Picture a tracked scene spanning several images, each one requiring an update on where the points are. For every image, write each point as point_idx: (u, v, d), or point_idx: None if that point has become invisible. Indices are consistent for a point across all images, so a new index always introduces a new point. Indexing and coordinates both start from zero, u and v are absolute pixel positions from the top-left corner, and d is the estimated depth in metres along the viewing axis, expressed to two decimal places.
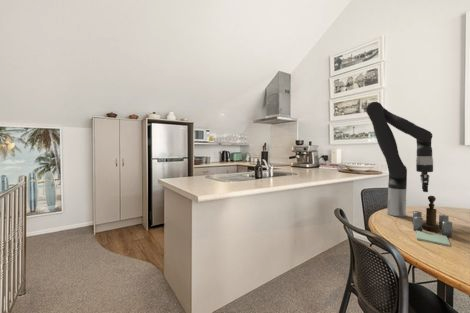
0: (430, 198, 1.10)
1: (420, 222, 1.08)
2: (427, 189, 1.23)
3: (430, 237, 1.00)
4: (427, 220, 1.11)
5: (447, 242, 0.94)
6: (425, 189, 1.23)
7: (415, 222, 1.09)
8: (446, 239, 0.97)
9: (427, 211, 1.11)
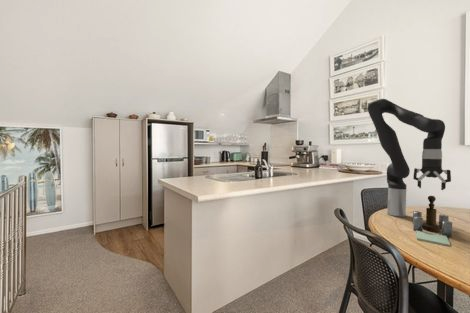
0: (430, 198, 1.10)
1: (420, 222, 1.08)
2: None
3: (430, 237, 1.00)
4: (427, 220, 1.11)
5: (447, 242, 0.94)
6: None
7: (415, 222, 1.09)
8: (446, 239, 0.97)
9: (427, 211, 1.11)
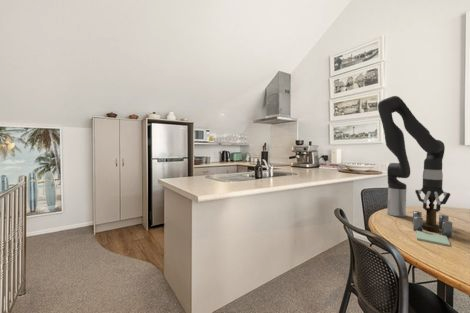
0: (430, 198, 1.10)
1: (420, 222, 1.08)
2: None
3: (430, 237, 1.00)
4: (427, 220, 1.11)
5: (447, 242, 0.94)
6: None
7: (415, 222, 1.09)
8: (446, 239, 0.97)
9: (427, 211, 1.11)
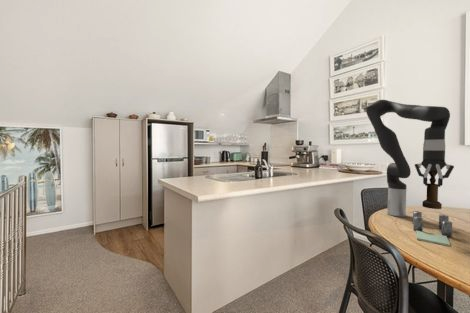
0: (431, 172, 0.99)
1: (420, 222, 1.08)
2: None
3: (430, 237, 1.00)
4: (428, 196, 1.00)
5: (447, 242, 0.94)
6: None
7: (415, 222, 1.09)
8: (446, 239, 0.97)
9: (428, 186, 1.00)
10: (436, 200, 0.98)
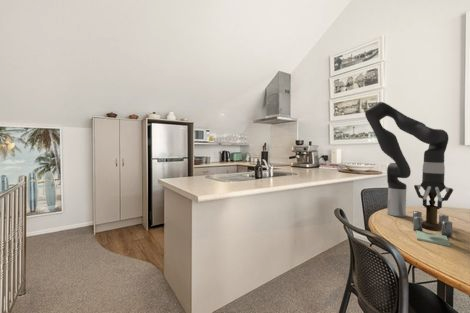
0: (430, 194, 0.99)
1: (420, 222, 1.08)
2: None
3: (430, 237, 1.00)
4: (427, 218, 1.00)
5: (447, 242, 0.94)
6: None
7: (415, 222, 1.09)
8: (446, 239, 0.97)
9: (427, 208, 1.00)
10: (435, 222, 0.98)
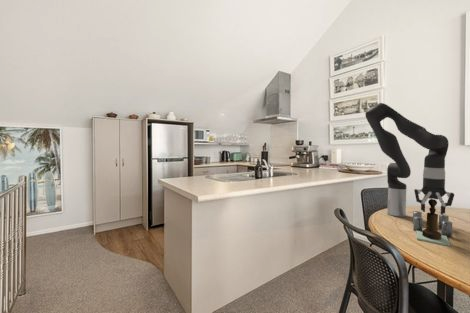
0: (431, 202, 0.99)
1: (420, 222, 1.08)
2: None
3: None
4: (428, 226, 1.00)
5: (447, 242, 0.94)
6: None
7: (415, 222, 1.09)
8: (446, 239, 0.97)
9: (428, 216, 1.00)
10: (436, 230, 0.98)
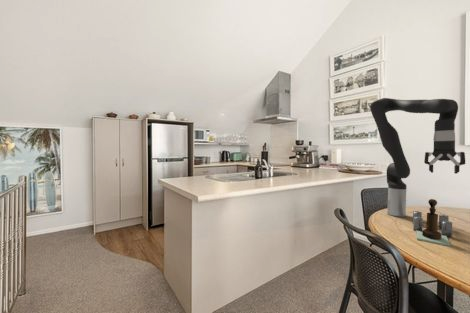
0: (431, 202, 0.99)
1: (420, 222, 1.08)
2: None
3: None
4: (428, 226, 1.00)
5: (447, 242, 0.94)
6: None
7: (415, 222, 1.09)
8: (446, 239, 0.97)
9: (428, 216, 1.00)
10: (436, 230, 0.98)
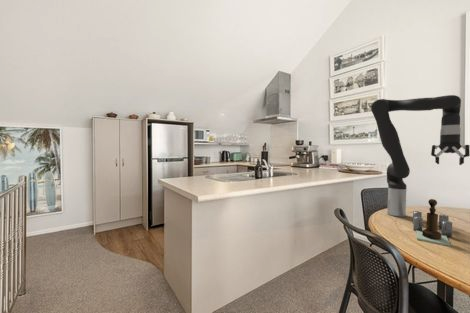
0: (431, 202, 0.99)
1: (420, 222, 1.08)
2: None
3: None
4: (428, 226, 1.00)
5: (447, 242, 0.94)
6: None
7: (415, 222, 1.09)
8: (446, 239, 0.97)
9: (428, 216, 1.00)
10: (436, 230, 0.98)
